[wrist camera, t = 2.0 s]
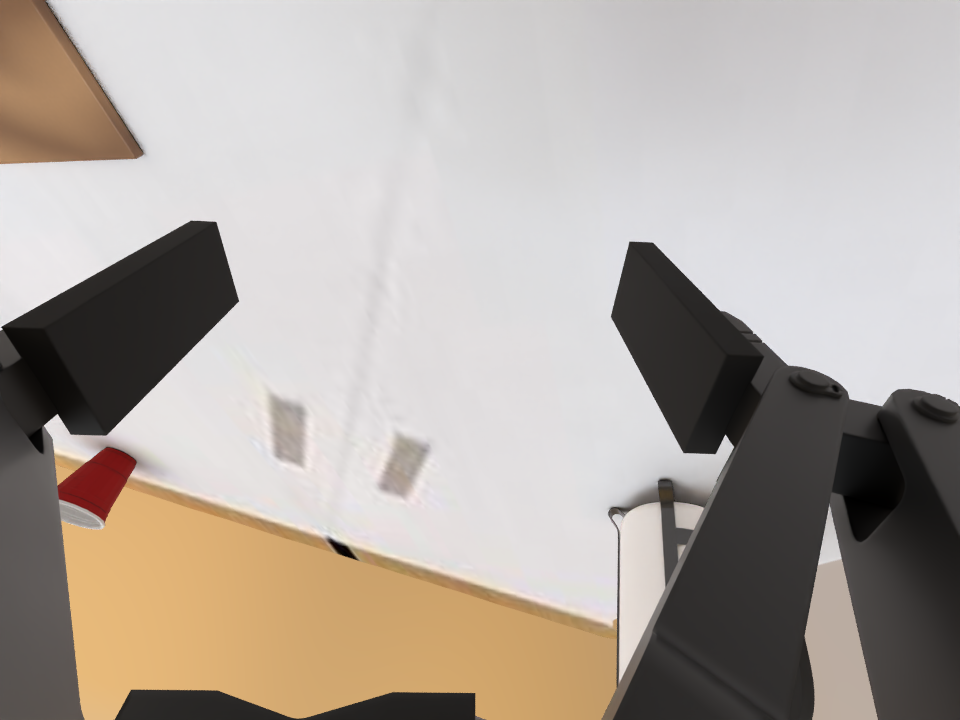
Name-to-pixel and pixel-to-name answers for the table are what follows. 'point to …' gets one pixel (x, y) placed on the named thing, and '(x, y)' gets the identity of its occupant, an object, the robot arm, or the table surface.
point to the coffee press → (648, 568)
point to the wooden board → (51, 95)
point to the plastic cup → (94, 488)
